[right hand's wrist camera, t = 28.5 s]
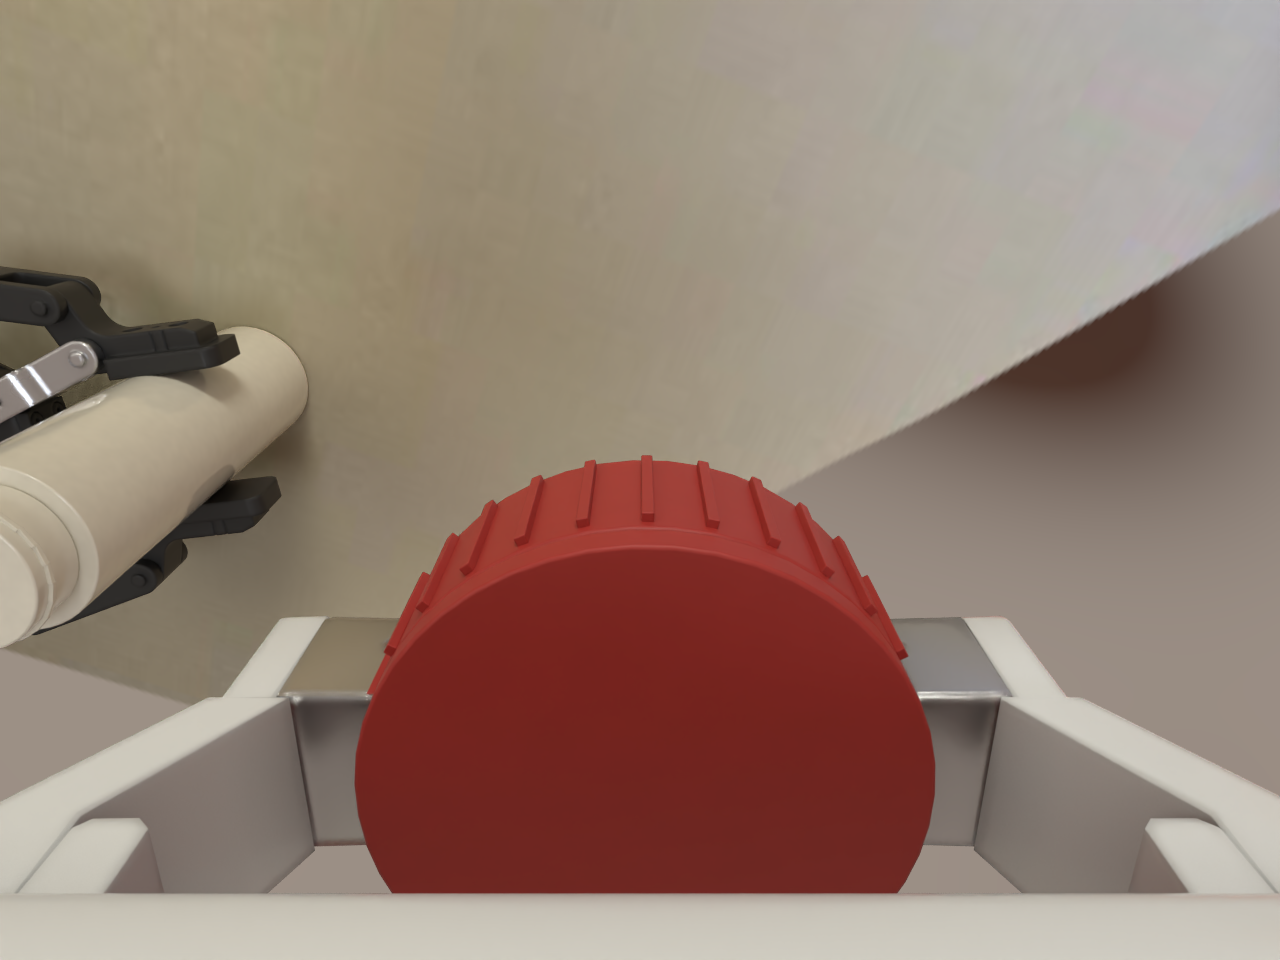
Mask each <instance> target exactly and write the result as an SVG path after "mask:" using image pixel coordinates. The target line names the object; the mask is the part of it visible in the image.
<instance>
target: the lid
mask: <svg viewBox="0 0 1280 960" xmlns="http://www.w3.org/2000/svg"><path fill="white" fill-rule="evenodd" d="M384 653H385V656H384V658H383V660H382V662H381V664H380V666H379V669H378V671H377V673H376V675H375V677H374V679H373V681H372V683H371V685H370V687H369V689H368V691H367V694H373V696H372V699H371V701H370V704H369V707H368V709H367V712H366V714H365V717H364V719H363V722H362V726H361V731H360V736H359V740H358V745H357V750H356V758H355V780H354V785H355V794H356V802H357V811H358V817H359V821H360V824H361V828H362V831H363V835H364V838H365V842H366V845H367V848H368V850H369V852H370V854H371V856H372V859H373V861H374V863H375V865H376V867H377V869H378V872H379V874H380V875H381V877H382V878H383V880H384V881H385V883H386V885H387V886H388V888H389V889H390V891H391V892H392V893H898V891H899V890H900V889H901V887H902V886H903V885H904V883H905V882H906V880H907V878H908V876H909V874H910V872H911V870H912V868H913V866H914V864H915V863H916V860H917V859H918V857H919V855H920V852H921V849H922V846H923V843H924V840H925V837H926V835H927V832H928V829H929V825H930V820H931V814H932V809H933V803H934V797H935V757H934V751H933V744H932V737H931V732H930V729H929V726H928V722H927V719H926V716H925V713H924V710H923V707H922V704H921V701H920V699H919V697H918V695H917V693H916V691H915V689H914V687H913V685H912V683H911V681H910V679H909V677H908V675H907V672H906V670H905V668H904V666H903V664H902V662H901V660H902V659H905V658H907V657H908V654H907V652H906V650H905V648H904V646H903V644H902V642H901V640H900V638H899V636H898V634H897V632H896V630H895V628H894V626H893V624H892V622H891V620H890V618H889V616H888V614H887V612H886V610H885V608H884V606H883V604H882V602H881V600H880V598H879V596H878V594H877V592H876V590H875V588H874V586H873V584H872V582H871V580H870V579H869V577H868V575H866V576H864V577H861V575H860V573H859V571H858V569H857V567H856V565H855V563H854V561H853V559H852V556H851V554H850V552H849V550H848V548H847V546H846V544H845V542H844V541H843V540H842V539H841V537H840V536H837V537H836V538H835V539H832V538H831V537H830V536H829V535H828V534H827V533H826V532H825V531H824V530H823V529H822V528H821V527H820V526H819V525H818V524H817V523H816V522H815V521H814V520H812V518H811V515H810V513H809V511H808V508H807V507H806V506H805V505H803V504H802V503H800V502H799V503H798V504H797V505H796V506H794V505H793V504H792V503H790V502H788V501H786V500H785V499H783V498H781V497H779V496H778V495H776V494H774V493H773V492H771V491H769V490H767V489H766V488H764V487H763V485H762V482H761V480H759V479H757V478H755V477H751V479H750V481H747V480H745V479H742V478H740V477H737V476H735V475H732V474H729V473H725V472H721V471H718V470H714V469H710V468H709V464H708V462H703V461H698V463H697V465H691V464H684V463H677V462H670V461H652V456H650V455H642V456H641V461H637V460H632V461H623V462H613V463H603V464H596V461H595V460H591V461H586V462H585V466H584V467H583V468H579V469H575V470H570V471H566V472H563V473H561V474H558V475H555V476H552V477H550V478H547V479H544V480H543V478H542V476H541V475H539V476H537V477H534V478H532V480H531V483H530V486H528V487H526V488H524V489H522V490H520V491H518V492H516V493H515V494H513V495H511V496H509V497H507V498H505V499H504V500H502V501H501V502H499V503H498V504H496V503H495V502H494V500H491V501H490V502H489V503H487V504H486V505H485V507H484V509H483V511H482V514H481V516H480V517H479V518H477V519H476V520H475V521H474V522H473V523H472V524H471V525H470V526H469V527H468V528H467V529H466V530H465V531H464V532H463V533H461V534H460V535H459V536H457V535H455V534H454V533H452V534H451V535H450V536H449V537H448V538H447V540H446V542H445V544H444V547H443V549H442V551H441V553H440V555H439V557H438V559H437V562H436V564H435V566H434V568H433V570H432V572H431V574H430V575H429V574H427V573H425V572H423V573H422V574H421V576H420V578H419V580H418V582H417V584H416V586H415V588H414V590H413V592H412V594H411V596H410V598H409V600H408V602H407V605H406V607H405V609H404V611H403V613H402V615H401V617H400V619H399V621H398V623H397V625H396V627H395V629H394V631H393V633H392V635H391V637H390V640H389V642H388V644H387V646H386V648H385V650H384Z"/></svg>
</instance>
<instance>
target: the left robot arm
mask: <svg viewBox="0 0 1280 960" xmlns="http://www.w3.org/2000/svg"><path fill="white" fill-rule="evenodd" d="M100 302H101V294H100V291H99V289H98V287H97V286H96V285H95V284H94V283H93V282H92V281H91V280H89V279H87V278H84V277H79V276H71V275H63V274H55V273H47V272H40V271H32V270H24V269H16V268H9V267H1V266H0V321H6V322H14V323H21V324H29V325H37V326H45V328H46V329H47V330H48V332H49V333H50V334H51V335H52V337H53V338H54V339H55V341H56V342H57V343H58V345H59V346H60V347H58V348H57V349H55V350H53V351H51V352H49V353H48V354H46V355H44V356H42V357H40V358H38V359H37V360H35V361H33V362H31V363H29V364H27V365H26V366H23V367H21V368H19V369H17V370H14V369H11V368H9V367H7V366H5V365H3V364H1V363H0V442H1V441H3V440H5V439H7V438H9V437H11V436H13V435H15V434H17V433H19V432H21V431H23V430H25V429H27V428H29V427H31V426H33V425H35V424H37V423H39V422H41V421H43V420H45V419H47V418H49V417H51V416H53V415H55V414H57V413H59V412H61V411H63V410H65V409H66V407H65V404H64V401H63V399H62V396H60V397H57V396H59V395H61V394H63V393H65V392H66V391H68V390H70V389H72V388H74V387H76V386H78V385H79V384H81V383H83V382H85V381H87V380H89V379H90V378H92V377H93V376H95V375H97V374H103V373H107V374H108V377H109V379H110V380H117V379H125V378H133V377H139V376H150V375H158V374H166V373H175V372H183V371H191V370H199V369H207V368H212V367H216V366H219V365H222V364H224V363H226V362H228V361H230V360H231V359H233V358H235V357H236V356H238V355H240V350H239V347H238V343H237V340H236V336H235V334H223V335H217V332H216V328H215V325H214V323H213V322H209V321H205V320H201V319H192V320H184V321H176V322H170V323H169V322H168V323H160V324H152V325H144V326H136V327H125V326H121V325H119V324H117V323H115V322H114V321H112V320H111V319H110V318H109V317H108V316H107V315H106V313H105V312H104V310H103V309H102V308H101V306H100ZM280 497H281V492H280V489H279V485H278V482H277V479H276V477H272V476H269V477H260V478H251V479H243V480H234V481H228V482H227V483H226V484H225V485H224V486H223V487H221V488H220V489H219V490H218V491H217V492H216V493H215V494H214V495H212V496H211V497H210V498H209V499H208V500H207V501H206V502H204V503H203V504H202V505H201V506H200V507H199V508H198V509H197V510H195V511H194V512H193V513H192V514H191V515H190V516H189V517H188V518H186V519H185V520H184V521H183V522H182V523H181V524H180V525H178V526H177V527H176V528H175V529H174V530H173V531H172V532H171V533H169V534H168V535H167V536H166V537H165V538H164V539H163V540H161V541H160V542H159V543H158V544H157V545H156V546H155V547H154V548H152V549H151V550H150V551H149V552H148V553H147V554H146V555H145V556H143V557H142V558H141V559H140V560H139V561H138V562H137V563H135V564H134V565H133V566H132V567H131V568H130V569H129V570H128V571H126V572H125V573H124V574H123V575H122V576H121V577H120V578H118V579H117V580H116V581H115V582H114V583H113V584H112V585H111V586H109V587H108V588H107V589H106V590H105V591H104V592H103V593H102V594H100V595H99V596H98V597H97V598H96V599H95V600H94V601H92V602H91V603H90V604H89V605H88V606H87V607H86V608H85V609H83V610H82V611H81V612H80V613H79V614H77V615H76V616H75V617H73V618H72V619H70V620H68V621H66V622H64V623H62V624H59V625H57V626H54V627H50V628H45V629H40V630H38V631H37V632H35V633H33V634H32V635H38V634H41V633H43V632H46V631H49V630H51V629H54V628H57V627H60V626H62V625H65V624H68V623H70V622H73V621H76V620H78V619H81V618H84V617H86V616H89V615H92V614H94V613H97V612H100V611H102V610H105V609H108V608H110V607H113V606H116V605H119V604H121V603H124V602H127V601H129V600H132V599H135V598H137V597H140V596H143V595H145V594H148V593H150V592H152V591H153V590H154V589H155V588H156V587H157V586H158V585H159V584H160V583H162V582H163V581H164V580H165V579H166V578H167V577H168V576H169V575H170V574H171V573H172V572H173V571H174V570H175V569H176V568H177V567H178V566H179V565H180V564H181V563H182V562H183V561H184V560H185V559H186V557H187V554H188V551H187V547H186V545H185V544H184V543H183V542H182V539H187V538H196V537H205V536H214V535H223V534H227V533H228V534H232V533H241V532H244V531H246V530H248V529H249V528H251V527H253V526H255V525H256V524H257V523H258V522H259V520H260V519H261V518H262V517H263V516H264V515H265V514H266V513H267V512H268V511H269V509H270V508H271V507H272V505H273V504H274V503H275V502H276V501H277V500H278V499H279V498H280Z"/></svg>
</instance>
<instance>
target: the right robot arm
mask: <svg viewBox="0 0 1280 960" xmlns="http://www.w3.org/2000/svg"><path fill="white" fill-rule="evenodd" d="M399 619H400V618H355V617H332V618H329V617H327V616H314V617H287V618H282V619H280V620H279V621H278V622H277V623H276V625H275V626H274V627H273V629H272V630H271V631H270V633H269V634H268V636H267V637H266V638H265V640H264V641H263V642H262V644H261V645H260V646H259V648H258V649H257V651H256V652H255V653H254V655H253V656H252V657H251V659H250V660H249V661H248V663H247V664H246V666H245V667H244V668H243V670H242V671H241V672H240V674H239V675H238V676H237V678H236V679H235V680H234V682H233V683H232V685H231V686H230V687H229V689H228V690H227V691H226V693H225V694H224V695H223V697H208V698H206V699H204V700H202V701H200V702H198V703H196V704H194V705H192V706H190V707H188V708H186V709H184V710H182V711H180V712H178V713H176V714H174V715H172V716H170V717H168V718H166V719H164V720H162V721H160V722H158V723H156V724H154V725H152V726H150V727H148V728H146V729H144V730H142V731H140V732H138V733H136V734H134V735H132V736H130V737H128V738H126V739H124V740H122V741H120V742H118V743H116V744H114V745H112V746H110V747H108V748H106V749H104V750H102V751H100V752H98V753H96V754H94V755H92V756H90V757H88V758H86V759H84V760H82V761H80V762H78V763H76V764H74V765H72V766H70V767H68V768H66V769H64V770H62V771H60V772H58V773H56V774H54V775H52V776H50V777H48V778H46V779H44V780H42V781H40V782H38V783H36V784H34V785H32V786H30V787H28V788H26V789H24V790H22V791H20V792H18V793H16V794H14V795H12V796H10V797H8V798H6V799H4V800H2V801H0V960H1280V796H1279V795H1277V794H1275V793H1273V792H1271V791H1269V790H1267V789H1264V788H1263V787H1261V786H1259V785H1257V784H1255V783H1253V782H1250V781H1249V780H1246V779H1244V778H1242V777H1240V776H1238V775H1236V774H1234V773H1232V772H1230V771H1228V770H1226V769H1224V768H1222V767H1220V766H1218V765H1216V764H1214V763H1212V762H1210V761H1208V760H1206V759H1204V758H1202V757H1200V756H1198V755H1196V754H1194V753H1192V752H1190V751H1188V750H1186V749H1184V748H1182V747H1180V746H1178V745H1176V744H1174V743H1172V742H1170V741H1168V740H1166V739H1164V738H1162V737H1160V736H1158V735H1156V734H1154V733H1152V732H1150V731H1148V730H1146V729H1144V728H1142V727H1140V726H1138V725H1136V724H1134V723H1132V722H1130V721H1128V720H1126V719H1124V718H1122V717H1120V716H1118V715H1116V714H1114V713H1112V712H1110V711H1108V710H1106V709H1104V708H1102V707H1100V706H1098V705H1096V704H1094V703H1092V702H1090V701H1088V700H1086V699H1084V698H1082V697H1067V696H1066V695H1065V693H1064V692H1063V691H1062V690H1061V688H1060V687H1059V686H1058V684H1057V683H1056V682H1055V680H1054V679H1053V678H1052V676H1051V675H1050V674H1049V672H1048V671H1047V670H1046V668H1045V667H1044V666H1043V664H1042V663H1041V662H1040V660H1039V659H1038V658H1037V656H1036V655H1035V654H1034V653H1033V651H1032V650H1031V649H1030V647H1029V646H1028V645H1027V643H1026V642H1025V641H1024V639H1023V638H1022V637H1021V635H1020V634H1019V633H1018V631H1017V630H1016V629H1015V627H1014V626H1013V625H1012V624H1011V622H1010V621H1009V620H1008V619H1006V618H1004V617H1001V616H988V617H964V618H961V617H952V618H911V619H890V620H891V622H892V624H893V626H894V628H895V630H896V632H897V634H898V636H899V638H900V640H901V642H902V644H903V646H904V648H905V650H906V652H907V654H908V657H907V658H905V659H902V660H901V662H902V664H903V666H904V668H905V670H906V672H907V675H908V677H909V679H910V681H911V683H912V685H913V687H914V689H915V691H916V693H917V695H918V697H919V699H920V701H921V704H922V707H923V710H924V713H925V716H926V719H927V722H928V726H929V729H930V732H931V737H932V744H933V751H934V757H935V797H934V803H933V809H932V814H931V820H930V825H929V829H928V832H927V835H926V837H925V840H924V843H923V845H945V846H974V850H975V851H976V852H977V853H978V854H979V855H980V856H981V857H982V858H983V859H985V860H986V861H987V862H988V863H989V864H990V865H991V866H992V867H993V868H995V869H996V870H997V871H998V872H999V873H1000V874H1001V875H1003V876H1004V877H1005V878H1006V879H1007V880H1008V881H1009V882H1010V883H1011V884H1013V885H1014V886H1015V887H1016V888H1017V889H1018V890H1019V891H1020V892H1021V893H268V892H269V891H271V890H272V889H273V888H274V887H275V886H276V885H277V884H278V883H279V882H281V881H282V880H283V879H284V878H285V877H286V876H287V875H288V874H289V873H291V872H292V871H293V870H294V869H295V868H296V867H297V866H298V865H299V864H301V863H302V862H303V861H304V860H305V859H306V858H307V857H308V856H309V855H310V854H312V853H313V852H314V851H315V849H314V846H343V845H366V842H365V838H364V835H363V831H362V828H361V824H360V821H359V817H358V811H357V802H356V794H355V785H354V780H355V758H356V750H357V745H358V740H359V736H360V731H361V726H362V722H363V719H364V717H365V714H366V712H367V709H368V707H369V704H370V701H371V699H372V696H373V694H367V691H368V689H369V687H370V685H371V683H372V681H373V679H374V677H375V675H376V673H377V671H378V669H379V666H380V664H381V662H382V660H383V658H384V656H385V653H384V650H385V648H386V646H387V644H388V642H389V640H390V637H391V635H392V633H393V631H394V629H395V627H396V625H397V623H398V621H399Z"/></svg>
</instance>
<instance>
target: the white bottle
mask: <svg viewBox="0 0 1280 960" xmlns="http://www.w3.org/2000/svg"><path fill="white" fill-rule="evenodd" d="M223 334H235V336H236V340H237V343H238V347H239V350H240V355H238V356H236V357H235V358H233V359H231V360H230V361H228V362H226V363H224V364H222V365H219V366H216V367H212V368H207V369H199V370H191V371H183V372H175V373H166V374H158V375H150V376H139V377H133V378H126V379H124V380H122V381H120V382H118V383H116V384H114V385H112V386H110V387H108V388H106V389H104V390H102V391H100V392H98V393H96V394H94V395H92V396H90V397H88V398H86V399H84V400H82V401H80V402H78V403H76V404H74V405H72V406H70V407H69V408H67V409H65V410H63V411H61V412H59V413H57V414H55V415H53V416H51V417H49V418H47V419H45V420H43V421H41V422H39V423H37V424H35V425H33V426H31V427H29V428H27V429H25V430H23V431H21V432H19V433H17V434H15V435H13V436H11V437H9V438H7V439H5V440H3V441H1V442H0V649H1V648H4V647H7V646H9V645H11V644H13V643H15V642H17V641H20V640H21V641H22V640H24V639H25V638H27V637H28V636H30V635H32V634H33V633H35V632H37V631H38V630H40V629H45V628H50V627H54V626H57V625H59V624H62V623H64V622H66V621H68V620H70V619H72V618H73V617H75V616H76V615H77V614H79V613H80V612H81V611H82V610H83V609H85V608H86V607H87V606H88V605H89V604H90V603H91V602H92V601H94V600H95V599H96V598H97V597H98V596H99V595H100V594H102V593H103V592H104V591H105V590H106V589H107V588H108V587H109V586H111V585H112V584H113V583H114V582H115V581H116V580H117V579H118V578H120V577H121V576H122V575H123V574H124V573H125V572H126V571H128V570H129V569H130V568H131V567H132V566H133V565H134V564H135V563H137V562H138V561H139V560H140V559H141V558H142V557H143V556H145V555H146V554H147V553H148V552H149V551H150V550H151V549H152V548H154V547H155V546H156V545H157V544H158V543H159V542H160V541H161V540H163V539H164V538H165V537H166V536H167V535H168V534H169V533H171V532H172V531H173V530H174V529H175V528H176V527H177V526H178V525H180V524H181V523H182V522H183V521H184V520H185V519H186V518H188V517H189V516H190V515H191V514H192V513H193V512H194V511H195V510H197V509H198V508H199V507H200V506H201V505H202V504H203V503H204V502H206V501H207V500H208V499H209V498H210V497H211V496H212V495H214V494H215V493H216V492H217V491H218V490H219V489H220V488H221V487H223V486H224V485H225V484H226V483H227V482H228V481H229V480H231V479H232V478H233V477H234V476H235V475H236V474H237V473H238V472H240V471H241V470H242V469H243V468H244V467H245V466H246V465H247V464H249V463H250V462H251V461H252V460H253V459H254V458H255V457H257V456H258V455H259V454H260V453H261V452H262V451H263V450H264V449H266V448H267V447H268V446H269V445H270V444H271V443H272V442H274V441H275V440H276V439H277V438H278V437H279V436H280V435H281V434H283V433H284V432H285V431H286V430H287V429H288V428H289V427H290V426H292V425H293V424H294V423H295V422H296V421H297V420H298V418H299V417H300V416H301V414H302V412H303V410H304V408H305V405H306V403H307V397H308V382H307V377H306V373H305V371H304V368H303V366H302V364H301V362H300V360H299V358H298V357H297V355H296V354H295V353H294V352H293V350H292V349H291V348H290V347H289V346H288V345H287V344H286V343H285V342H283V341H282V340H280V339H279V338H278V337H276V336H274V335H273V334H271V333H268V332H266V331H264V330H261V329H257V328H252V327H242V326H240V327H231V328H227V329H224V330H221V331H219V332H217V335H223Z"/></svg>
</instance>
